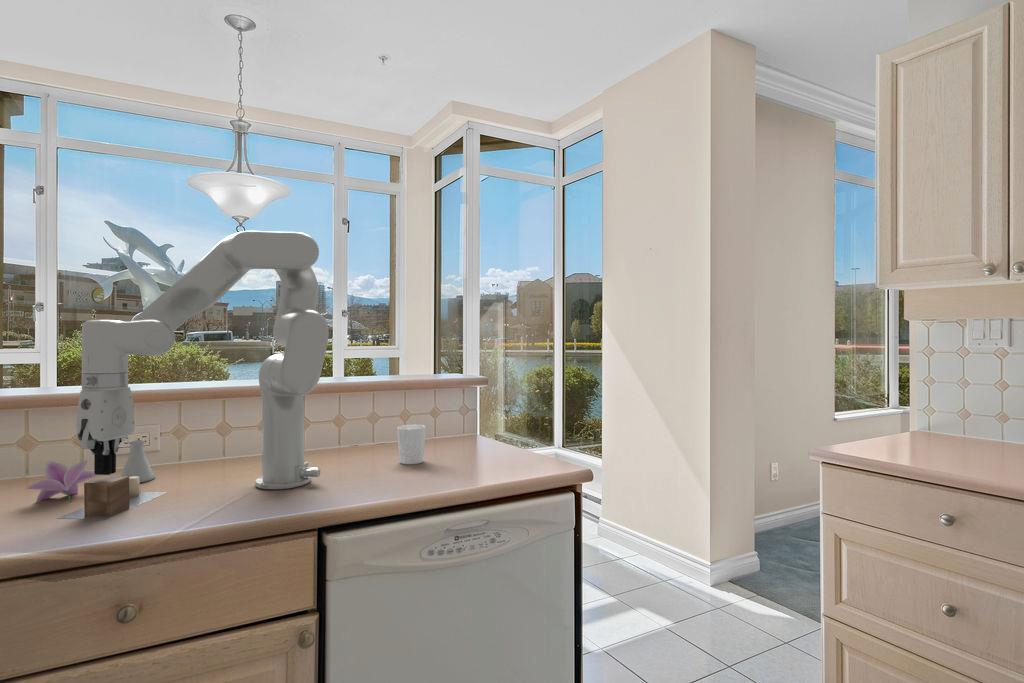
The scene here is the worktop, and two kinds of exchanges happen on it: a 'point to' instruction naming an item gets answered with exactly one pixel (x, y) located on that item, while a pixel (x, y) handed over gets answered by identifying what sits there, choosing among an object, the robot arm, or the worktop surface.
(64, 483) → the lily
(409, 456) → the white cup
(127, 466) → the flask
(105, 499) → the wooden grain cube
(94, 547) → the worktop surface
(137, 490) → the slate stand
